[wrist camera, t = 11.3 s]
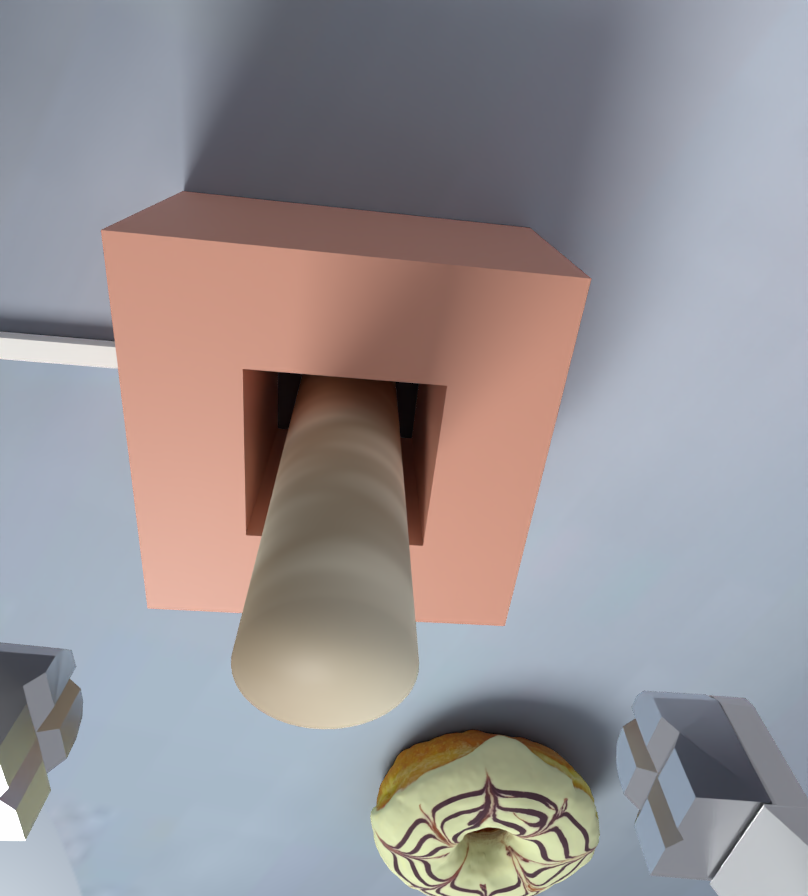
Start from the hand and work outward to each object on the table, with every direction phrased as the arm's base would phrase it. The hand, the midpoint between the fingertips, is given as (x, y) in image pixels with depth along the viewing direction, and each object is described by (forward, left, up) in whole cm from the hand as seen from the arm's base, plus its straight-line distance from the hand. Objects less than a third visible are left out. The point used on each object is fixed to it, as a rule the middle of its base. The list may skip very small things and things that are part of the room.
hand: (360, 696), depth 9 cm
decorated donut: (-7, +22, -13) cm, 27 cm away
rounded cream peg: (+1, 0, -13) cm, 13 cm away
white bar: (+9, 0, -13) cm, 15 cm away
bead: (+1, 0, -13) cm, 13 cm away
